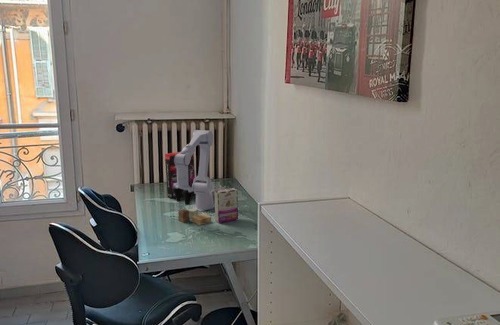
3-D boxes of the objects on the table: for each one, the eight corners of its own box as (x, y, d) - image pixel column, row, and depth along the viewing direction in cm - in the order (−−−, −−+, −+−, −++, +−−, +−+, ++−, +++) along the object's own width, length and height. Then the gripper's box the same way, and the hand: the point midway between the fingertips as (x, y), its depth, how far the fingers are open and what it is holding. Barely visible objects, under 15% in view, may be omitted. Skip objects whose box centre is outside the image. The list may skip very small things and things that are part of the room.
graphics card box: (171, 199, 260) (169, 155, 254) (166, 197, 265) (164, 153, 259) (196, 194, 270) (194, 151, 265) (190, 192, 276) (188, 150, 270)
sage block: (192, 215, 232) (192, 208, 232) (198, 216, 230) (198, 209, 229) (187, 217, 229) (187, 210, 228) (193, 218, 227) (193, 211, 226)
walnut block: (185, 219, 226) (184, 209, 225) (189, 221, 224) (189, 210, 222) (178, 220, 224) (178, 210, 223) (182, 222, 221) (182, 212, 220)
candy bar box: (234, 217, 229) (233, 187, 225) (238, 220, 225) (238, 189, 221) (214, 220, 224) (214, 190, 220) (218, 223, 219) (217, 192, 216)
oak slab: (203, 219, 227) (203, 213, 227) (211, 222, 222) (211, 216, 222) (192, 222, 223) (191, 216, 222) (199, 225, 218) (199, 219, 217)
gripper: (168, 175, 222) (168, 201, 224) (183, 180, 211) (184, 207, 214) (179, 173, 226) (180, 198, 229) (195, 178, 216) (196, 204, 218)
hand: (183, 203), depth 222 cm, fingers open, 7 cm apart
